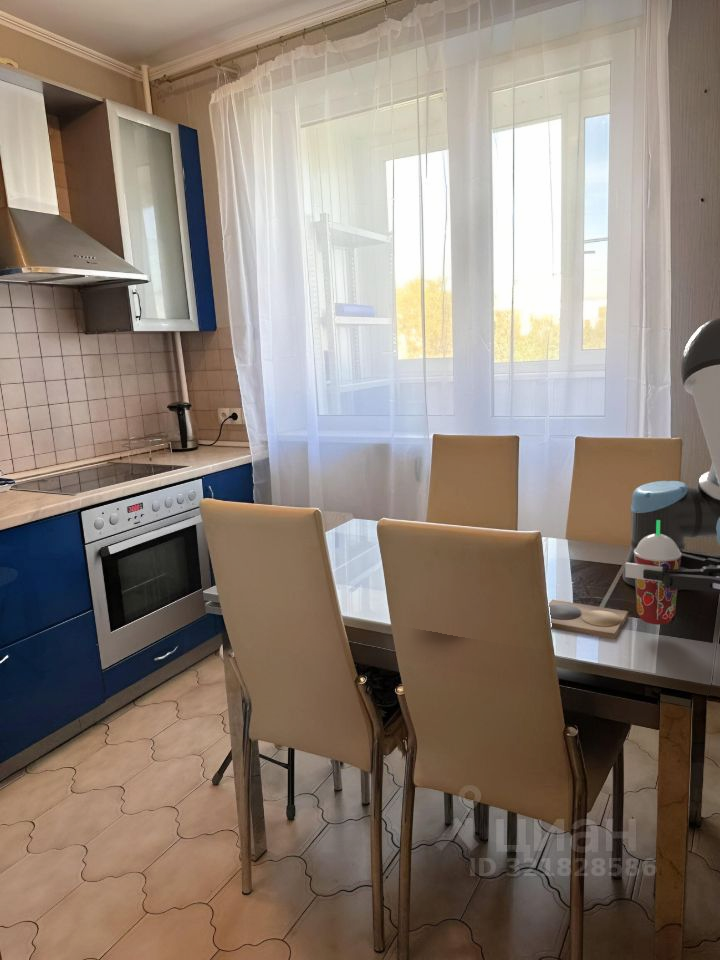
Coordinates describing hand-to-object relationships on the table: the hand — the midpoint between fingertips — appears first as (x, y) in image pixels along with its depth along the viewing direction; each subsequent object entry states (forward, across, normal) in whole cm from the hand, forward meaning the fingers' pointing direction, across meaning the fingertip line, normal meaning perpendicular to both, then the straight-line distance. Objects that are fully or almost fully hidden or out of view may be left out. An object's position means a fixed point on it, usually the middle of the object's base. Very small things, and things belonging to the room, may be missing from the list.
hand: (630, 562), depth 130 cm
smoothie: (-5, 0, -11) cm, 12 cm away
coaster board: (+10, +1, -15) cm, 18 cm away
